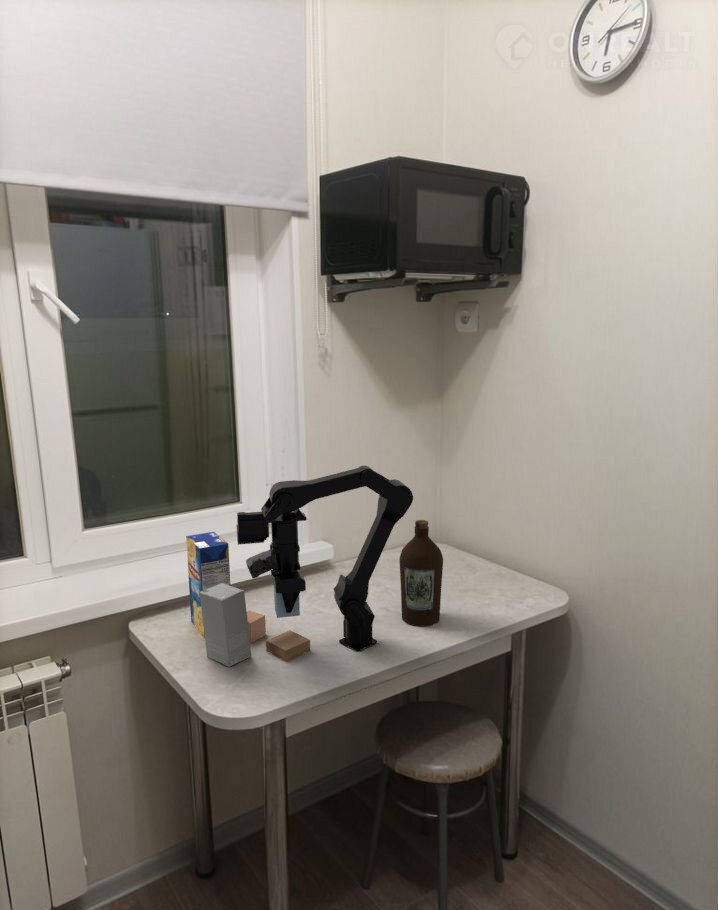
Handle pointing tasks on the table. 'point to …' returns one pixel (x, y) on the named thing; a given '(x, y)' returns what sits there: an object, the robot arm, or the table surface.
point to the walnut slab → (288, 645)
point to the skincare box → (225, 624)
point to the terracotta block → (256, 625)
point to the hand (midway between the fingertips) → (287, 607)
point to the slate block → (281, 607)
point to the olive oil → (421, 578)
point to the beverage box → (205, 569)
